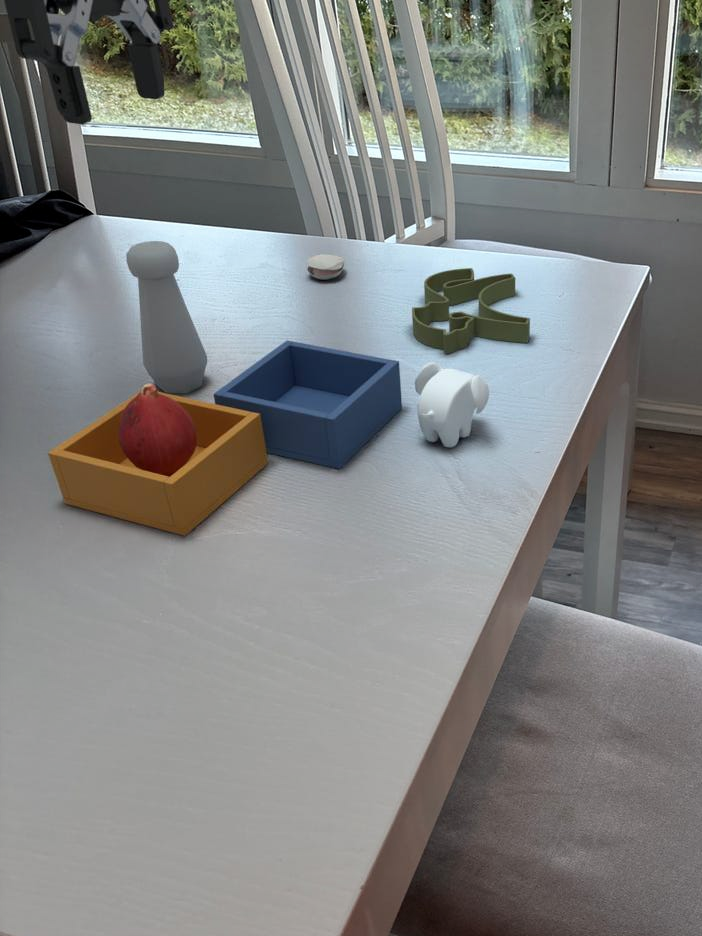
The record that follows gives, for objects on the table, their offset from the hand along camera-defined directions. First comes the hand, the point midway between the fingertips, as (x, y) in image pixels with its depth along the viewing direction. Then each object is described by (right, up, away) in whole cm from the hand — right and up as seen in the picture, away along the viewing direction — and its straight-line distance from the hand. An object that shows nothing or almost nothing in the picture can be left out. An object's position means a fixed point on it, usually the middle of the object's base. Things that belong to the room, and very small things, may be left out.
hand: (116, 109), depth 75 cm
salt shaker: (0, -17, +17) cm, 24 cm away
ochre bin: (+3, -29, +4) cm, 29 cm away
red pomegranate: (+3, -28, +3) cm, 29 cm away
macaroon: (+11, +1, +38) cm, 40 cm away
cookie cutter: (+27, -7, +29) cm, 40 cm away
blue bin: (+14, -22, +11) cm, 28 cm away
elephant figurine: (+26, -24, +9) cm, 36 cm away
